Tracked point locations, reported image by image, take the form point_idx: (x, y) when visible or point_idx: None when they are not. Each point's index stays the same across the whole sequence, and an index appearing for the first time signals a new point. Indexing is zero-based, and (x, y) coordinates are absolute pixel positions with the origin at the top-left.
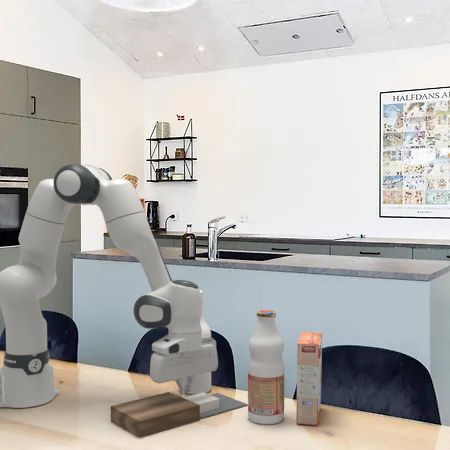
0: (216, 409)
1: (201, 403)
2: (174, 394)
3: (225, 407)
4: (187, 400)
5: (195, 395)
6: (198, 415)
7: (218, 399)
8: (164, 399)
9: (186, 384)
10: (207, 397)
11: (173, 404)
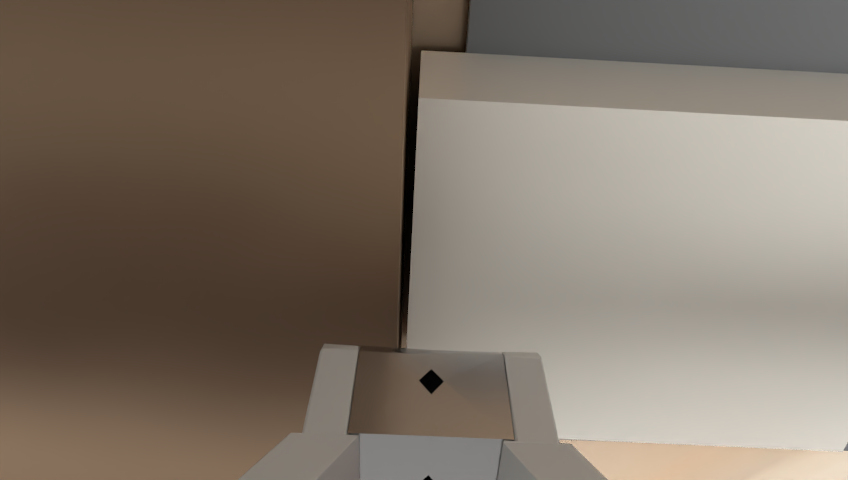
0: None
1: None
2: (394, 62)
3: None
4: None
5: (780, 162)
6: None
7: (824, 445)
8: (73, 167)
9: (509, 463)
10: (800, 340)
11: (113, 411)
